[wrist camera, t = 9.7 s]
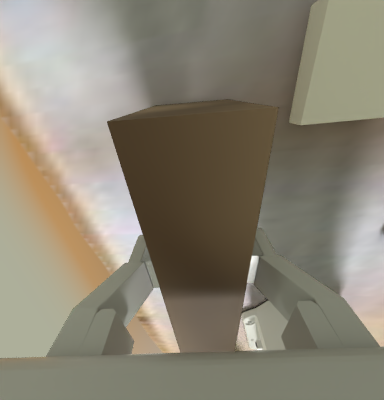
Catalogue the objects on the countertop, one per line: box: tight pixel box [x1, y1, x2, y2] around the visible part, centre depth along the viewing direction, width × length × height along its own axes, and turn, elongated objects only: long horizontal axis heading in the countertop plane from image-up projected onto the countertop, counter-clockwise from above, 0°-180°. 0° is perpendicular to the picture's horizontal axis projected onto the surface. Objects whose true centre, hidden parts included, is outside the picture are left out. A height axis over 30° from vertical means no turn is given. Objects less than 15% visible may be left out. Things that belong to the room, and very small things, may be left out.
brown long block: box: [107, 99, 279, 353], centre depth 8 cm, size 3×12×4 cm, turn 4°
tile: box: [289, 0, 384, 125], centre depth 12 cm, size 7×2×8 cm
